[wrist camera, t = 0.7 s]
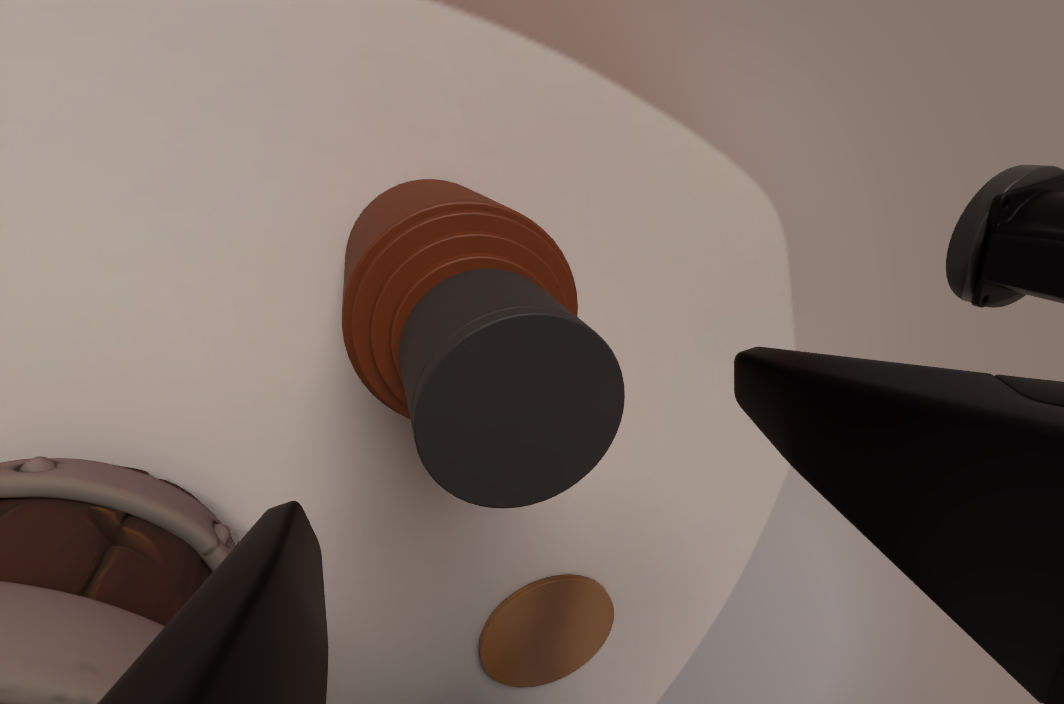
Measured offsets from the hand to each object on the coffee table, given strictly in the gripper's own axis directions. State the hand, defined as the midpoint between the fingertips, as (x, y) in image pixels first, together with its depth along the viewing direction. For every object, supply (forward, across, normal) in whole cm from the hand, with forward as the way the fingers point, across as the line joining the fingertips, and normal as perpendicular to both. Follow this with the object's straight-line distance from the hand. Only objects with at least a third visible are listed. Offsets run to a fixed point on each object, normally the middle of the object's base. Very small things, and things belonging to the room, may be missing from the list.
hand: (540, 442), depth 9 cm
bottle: (+13, 0, 0) cm, 13 cm away
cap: (+4, 0, 0) cm, 4 cm away
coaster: (+13, -1, +22) cm, 26 cm away
